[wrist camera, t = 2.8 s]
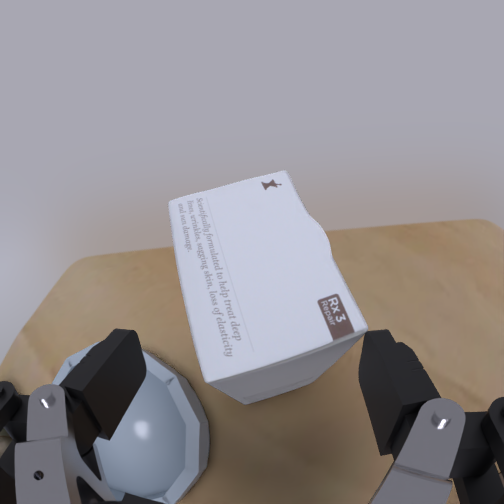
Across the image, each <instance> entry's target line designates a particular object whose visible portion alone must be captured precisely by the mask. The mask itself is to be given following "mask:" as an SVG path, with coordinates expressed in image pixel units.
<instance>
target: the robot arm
mask: <svg viewBox="0 0 504 504" xmlns="http://www.w3.org/2000/svg"><path fill="white" fill-rule="evenodd" d="M146 372H147V367H146V362H145V359H144V355H143V352H142V349H141V345H140V341H139V338H138V335H137V333H136V332H135V331H134V330H126V329H114V330H113V331H112V332H111V333H110V335H109V336H108V337H107V338H106V339H105V340H103V341H101V342H100V343H98V344H96V345H95V346H93V347H92V348H91V349H90V350H89V351H88V353H87V354H86V356H84V357H83V358H82V359H81V360H80V363H78V364H77V365H76V366H75V367H74V368H73V369H72V370H71V372H70V373H69V374H68V375H67V376H66V377H65V378H64V380H63V381H62V382H61V383H60V384H59V385H56V384H47V385H43V386H41V387H39V388H37V389H36V390H34V391H33V392H32V394H31V395H18V393H17V391H16V390H15V388H14V386H13V384H12V383H10V382H7V381H2V382H0V432H1V431H2V429H3V428H5V430H6V431H7V432H8V434H9V435H10V436H11V438H12V439H13V440H12V441H11V443H10V444H9V446H8V447H7V449H6V450H5V451H4V453H3V454H2V456H1V457H0V504H165V503H162V502H158V501H154V500H150V499H147V498H143V497H139V496H136V495H132V494H129V493H126V492H125V494H124V497H123V499H122V501H117V500H116V499H115V497H114V495H113V494H112V492H111V491H110V489H109V486H108V484H107V480H106V477H105V474H104V470H103V467H102V463H101V460H100V456H99V452H98V448H97V445H96V444H95V440H96V438H97V437H99V438H102V439H105V440H109V441H110V440H111V438H112V436H113V434H114V432H115V431H116V429H117V427H118V425H119V423H120V422H121V420H122V418H123V416H124V415H125V413H126V411H127V409H128V408H129V406H130V404H131V402H132V401H133V399H134V397H135V395H136V394H137V392H138V390H139V388H140V387H141V385H142V383H143V382H144V380H145V377H146ZM359 383H360V387H361V390H362V393H363V396H364V400H365V403H366V406H367V410H368V413H369V416H370V420H371V423H372V427H373V430H374V434H375V437H376V441H377V445H378V449H379V452H380V456H382V455H387V454H392V455H393V458H394V462H393V463H392V465H391V467H390V469H389V470H388V472H387V474H386V476H385V477H384V479H383V481H382V482H381V484H380V486H379V487H378V489H377V490H376V492H375V493H374V495H373V497H372V498H371V500H370V501H369V503H368V504H446V502H447V499H448V497H449V494H450V491H451V488H452V481H451V480H449V478H453V480H454V484H455V487H456V491H457V494H458V498H459V501H460V504H504V397H501V398H498V399H496V400H495V401H493V403H492V404H491V406H490V407H489V409H488V411H486V412H464V410H463V409H462V407H461V406H460V405H459V404H457V403H456V402H454V401H452V400H449V399H445V398H441V396H440V395H439V393H438V391H437V389H436V388H435V386H434V384H433V383H432V381H431V379H430V377H429V376H428V374H427V372H426V371H425V369H423V366H422V364H421V363H420V361H419V359H418V358H417V356H416V354H415V353H414V351H413V350H412V349H411V348H409V347H408V346H407V345H405V344H404V343H403V342H398V343H396V342H395V340H394V338H393V337H392V335H391V333H390V332H389V330H387V329H385V330H375V331H367V332H366V333H365V336H364V341H363V347H362V353H361V359H360V364H359ZM496 461H497V464H498V466H499V468H500V471H501V473H500V474H499V473H498V471H497V468H496V466H495V462H496Z"/></svg>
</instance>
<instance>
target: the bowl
mask: <svg viewBox="0 0 504 504" xmlns="http://www.w3.org/2000/svg"><path fill="white" fill-rule="evenodd" d="M98 343H100V342H97V343H95V344H93V345H91V346H89V347H87V348H85V349H83V350H81V351H79V352H78V353H76V354H74V355H72V356H70V357H68V358H67V359H66V360H65V362H64V364H63V365H62V367H61V369H60V370H59V372H58V374H57V376H56V377H55V379H54V381H53V382H52V384H56V385H59V384H60V383H61V382H62V381H63V380H64V378H65V377H66V376H67V375H68V374H69V373H70V372H71V370H72V369H73V368H74V367H75V366H76V365H77V364H78V363H80V360H81V359H82V358H83V357H84V356H86V354H87V353H88V351H89V350H90V349H91V348H92V347H93V346H95V345H96V344H98ZM141 349H142V348H141ZM142 352H143V355H144V359H145V362H146V367H147V372H146V377H145V380H144V382H143V383H142V385H141V387H140V388H139V390H138V392H137V394H136V395H135V397H134V399H133V401H132V402H131V404H130V406H129V408H128V409H127V411H126V413H125V415H124V416H123V418H122V420H121V422H120V423H119V425H118V427H117V429H116V431H115V432H114V434H113V436H112V438H111V440H110V441H109V440H105V439H102V438H99V437H97V438H96V440H95V444H96V445H97V448H98V452H99V456H100V460H101V463H102V467H103V470H104V474H105V477H106V480H107V484H108V486H109V489H110V491H111V492H112V494H113V495H114V497H115V499H116V500H117V501H122V499H123V497H124V494H125V492H126V493H129V494H132V495H136V496H139V497H143V498H147V499H150V500H154V501H158V502H162V503H165V504H176V503H177V502H179V501H180V500H181V499H182V498H183V497H184V496H185V495H186V494H187V492H188V491H189V490H190V489H191V487H192V486H193V485H194V484H195V483H196V482H197V481H198V479H199V478H200V476H201V475H202V473H203V471H204V470H205V469H206V467H207V460H208V456H209V449H210V432H209V426H208V420H207V418H206V414H205V411H204V409H203V407H202V404H201V402H200V400H199V398H198V397H197V395H196V393H195V392H194V390H193V389H192V387H191V386H190V385H189V383H188V381H187V379H186V378H184V377H183V376H182V375H180V374H179V373H178V372H177V371H176V370H174V369H173V368H172V367H171V366H169V365H168V364H166V363H164V362H163V361H161V360H160V359H158V358H157V357H156V356H154V355H153V354H152V353H150V352H148V351H146V350H144V349H142Z"/></svg>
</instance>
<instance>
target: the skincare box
mask: <svg viewBox="0 0 504 504" xmlns="http://www.w3.org/2000/svg"><path fill="white" fill-rule="evenodd" d="M168 207H169V214H170V223H171V230H172V238H173V245H174V252H175V258H176V264H177V269H178V275H179V280H180V285H181V290H182V295H183V299H184V303H185V308H186V313H187V317H188V322H189V326H190V331H191V335H192V339H193V343H194V347H195V350H196V354H197V358H198V361H199V365H200V368H201V371H202V375H203V378H204V380H205V382H206V383H208V384H210V385H211V386H213V387H214V388H216V389H218V390H220V391H222V392H223V393H225V394H227V395H228V396H230V397H232V398H234V399H235V400H237V401H239V402H241V403H242V404H244V405H247V404H250V403H254V402H257V401H260V400H264V399H267V398H270V397H273V396H276V395H279V394H283V393H286V392H289V391H291V390H294V389H297V388H300V387H303V386H305V385H308V384H311V383H312V382H314V381H315V380H316V379H317V378H318V377H319V376H320V375H322V374H323V373H324V372H325V371H326V370H327V369H328V368H330V367H331V366H332V365H333V364H334V363H335V362H336V361H337V360H338V359H339V358H340V357H341V356H342V355H343V354H345V353H346V352H347V351H348V350H349V349H350V348H351V347H352V346H353V345H354V344H355V343H356V342H357V341H358V340H359V339H360V338H361V337H362V336H363V335H364V334H365V333H366V332H367V330H368V325H367V323H366V321H365V319H364V317H363V315H362V313H361V311H360V309H359V307H358V305H357V303H356V301H355V299H354V298H353V296H352V294H351V292H350V290H349V288H348V286H347V284H346V282H345V280H344V278H343V276H342V274H341V272H340V270H339V268H338V266H337V264H336V263H335V261H334V259H333V257H332V253H331V248H330V243H329V240H328V238H327V235H326V233H325V232H324V230H323V229H322V227H321V226H320V224H319V223H317V222H316V221H315V220H314V219H313V218H312V217H311V216H310V214H309V213H308V211H307V209H306V207H305V205H304V204H303V202H302V200H301V199H300V196H299V194H298V193H297V190H296V188H295V186H294V184H293V181H292V179H291V177H290V175H289V174H288V172H287V171H285V170H283V171H279V172H275V173H272V174H268V175H263V176H259V177H255V178H251V179H247V180H243V181H239V182H236V183H232V184H229V185H225V186H221V187H218V188H214V189H210V190H206V191H202V192H198V193H194V194H191V195H186V196H183V197H180V198H177V199H174V200H171V201H169V203H168Z"/></svg>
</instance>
